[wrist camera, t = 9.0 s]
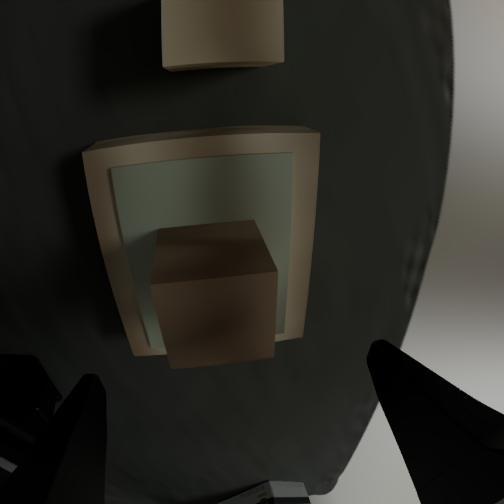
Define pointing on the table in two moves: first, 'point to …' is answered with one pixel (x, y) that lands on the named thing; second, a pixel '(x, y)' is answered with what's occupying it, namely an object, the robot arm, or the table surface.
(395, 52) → the table surface
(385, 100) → the table surface
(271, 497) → the tea box
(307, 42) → the table surface
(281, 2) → the oak block
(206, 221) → the plinth
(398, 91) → the table surface
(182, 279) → the walnut block
